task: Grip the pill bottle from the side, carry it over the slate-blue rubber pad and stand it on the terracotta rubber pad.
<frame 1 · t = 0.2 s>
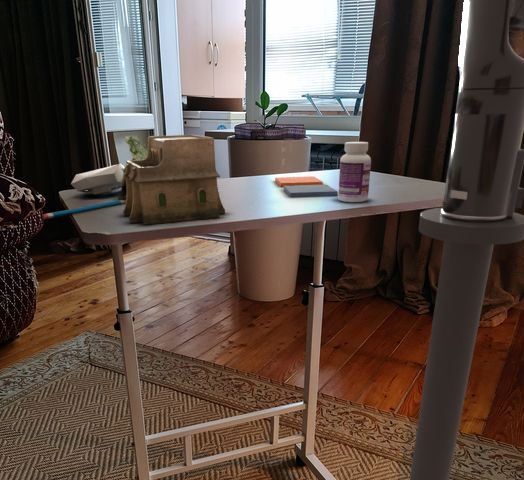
fruit: (141, 198, 95), on the table, touching terrain
terrain: (147, 173, 92), point 5 cm above the table, touching fruit
turret: (115, 193, 104), on the table
pencil: (87, 205, 85), point 1 cm above the table
terracotta pad: (298, 183, 110), on the table
miniature house: (172, 214, 82), on the table
slate pad: (309, 192, 98), on the table
pill bottle: (352, 201, 90), on the table
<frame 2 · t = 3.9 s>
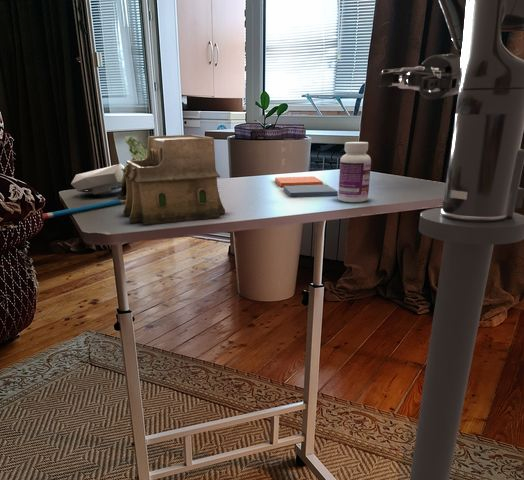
hand: (400, 82, 88), 19 cm above the table, tool horizontal, fingers open, 8 cm apart
nothing on the table moved.
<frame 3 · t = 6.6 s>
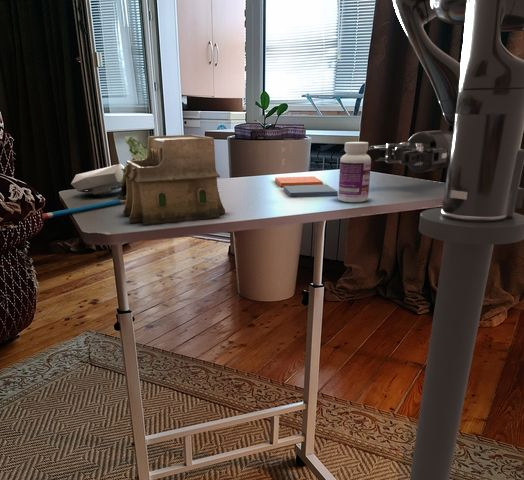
hand: (383, 157, 92), 7 cm above the table, tool horizontal, fingers open, 8 cm apart
nothing on the table moved.
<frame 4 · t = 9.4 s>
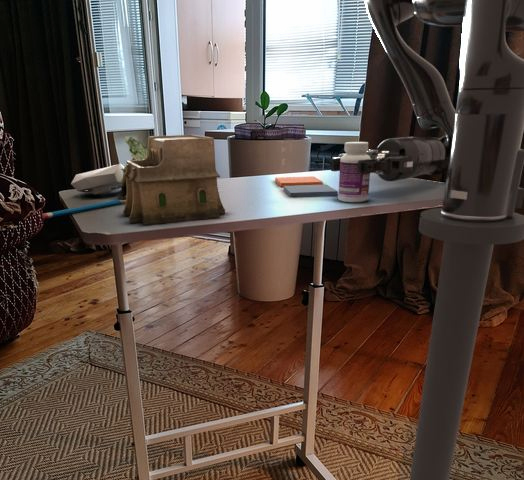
hand: (345, 166, 86), 6 cm above the table, tool horizontal, fingers closed on pill bottle, 5 cm apart
pill bottle: (353, 201, 90), on the table, touching gripper
everything else where it was.
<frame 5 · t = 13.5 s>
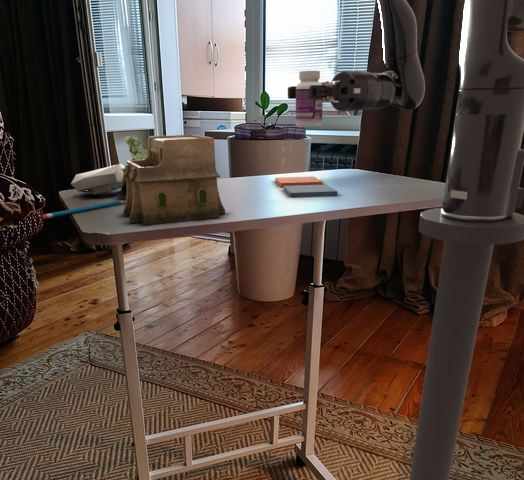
hand: (300, 92, 97), 18 cm above the table, tool horizontal, fingers closed on pill bottle, 5 cm apart
pill bottle: (308, 126, 101), point 12 cm above the table, touching gripper
everything else where it was.
when the fingers open (7 cm above the table, at t = 17.6 s): pill bottle stays where it is, resting on terracotta pad.
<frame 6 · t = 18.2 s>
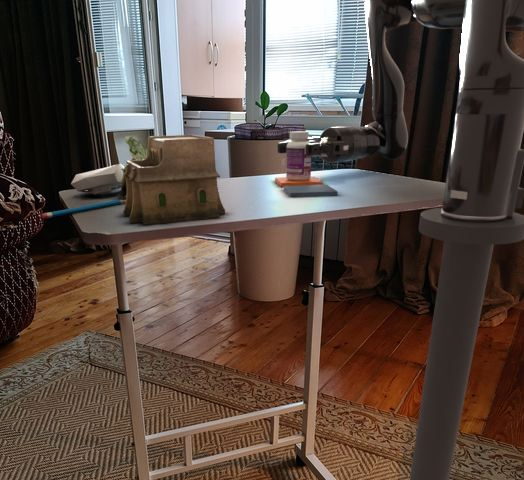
hand: (292, 149, 106), 7 cm above the table, tool horizontal, fingers open, 8 cm apart
pill bottle: (298, 180, 110), point 1 cm above the table, touching terracotta pad
everything else where it was.
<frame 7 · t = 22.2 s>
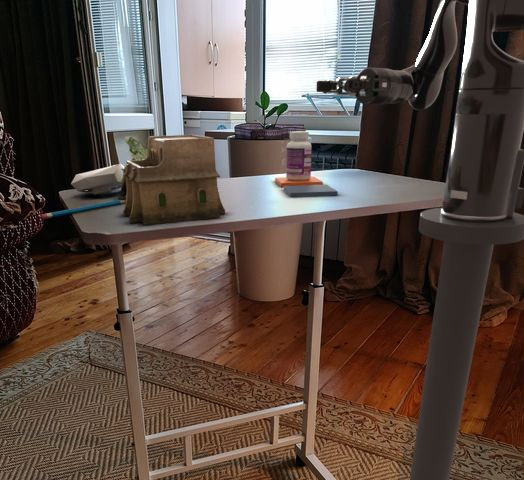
hand: (332, 85, 107), 19 cm above the table, tool horizontal, fingers open, 8 cm apart
nothing on the table moved.
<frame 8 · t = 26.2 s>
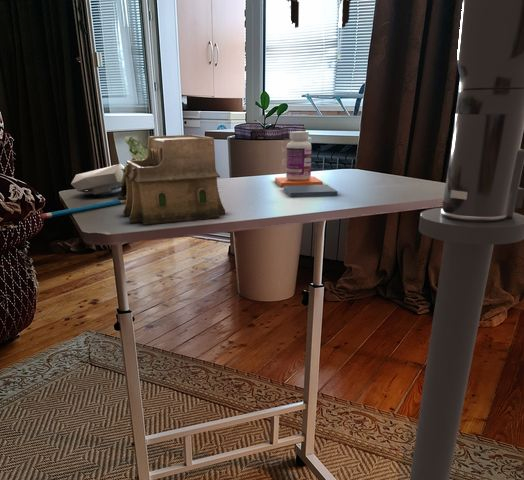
hand: (319, 27, 91), 28 cm above the table, tool pointing down, fingers open, 8 cm apart
nothing on the table moved.
at the end: pill bottle inside the target area on the terracotta pad (0.1 cm from its centre), point 0.6 cm above the terracotta pad's base; pill bottle tilted 0°; pill bottle touching terracotta pad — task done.
